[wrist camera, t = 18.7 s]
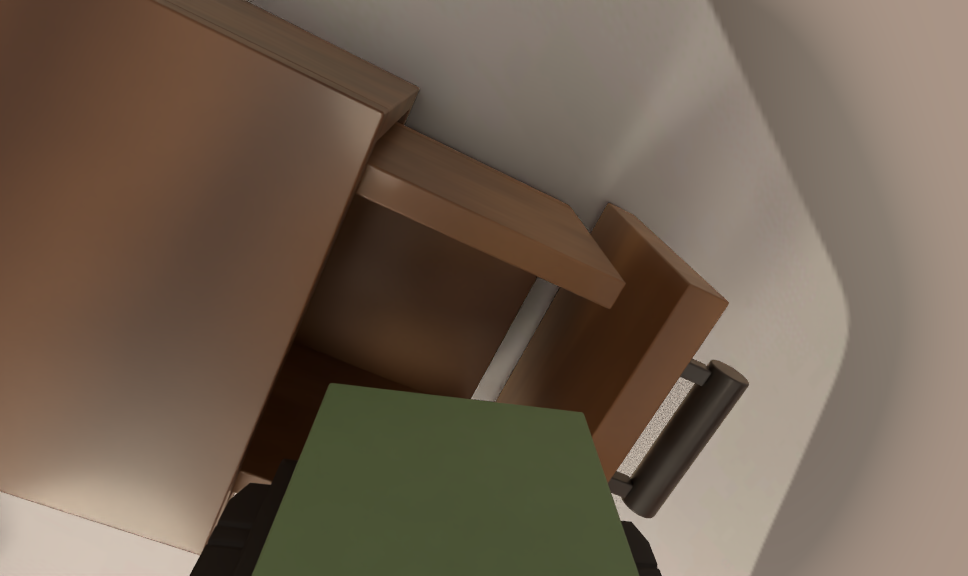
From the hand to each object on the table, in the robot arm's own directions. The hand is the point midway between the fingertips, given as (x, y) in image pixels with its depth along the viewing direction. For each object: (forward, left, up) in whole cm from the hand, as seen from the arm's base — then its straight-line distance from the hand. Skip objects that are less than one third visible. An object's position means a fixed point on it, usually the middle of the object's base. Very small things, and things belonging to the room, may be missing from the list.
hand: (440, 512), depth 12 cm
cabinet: (+8, -8, -13) cm, 18 cm away
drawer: (0, 0, -12) cm, 13 cm away
